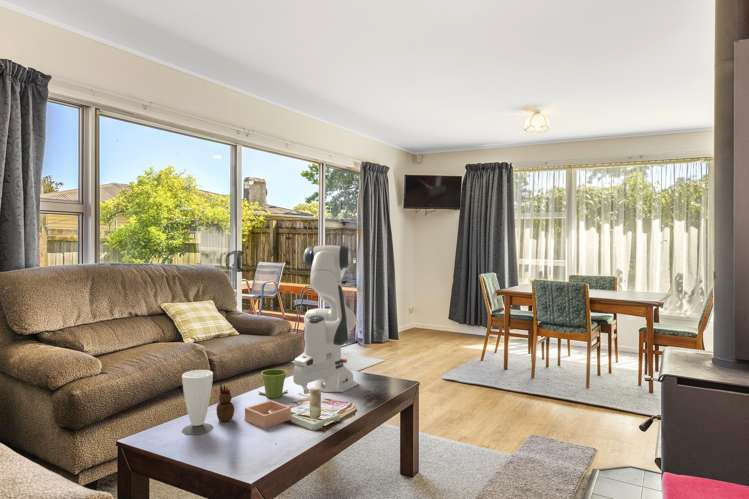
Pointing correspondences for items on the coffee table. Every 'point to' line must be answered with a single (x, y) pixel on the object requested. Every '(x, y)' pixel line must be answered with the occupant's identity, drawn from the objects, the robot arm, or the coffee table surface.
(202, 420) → the cup
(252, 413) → the frame
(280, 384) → the plant pot
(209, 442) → the coffee table surface
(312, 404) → the beech peg
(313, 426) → the sage tray
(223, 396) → the wooden figurine
